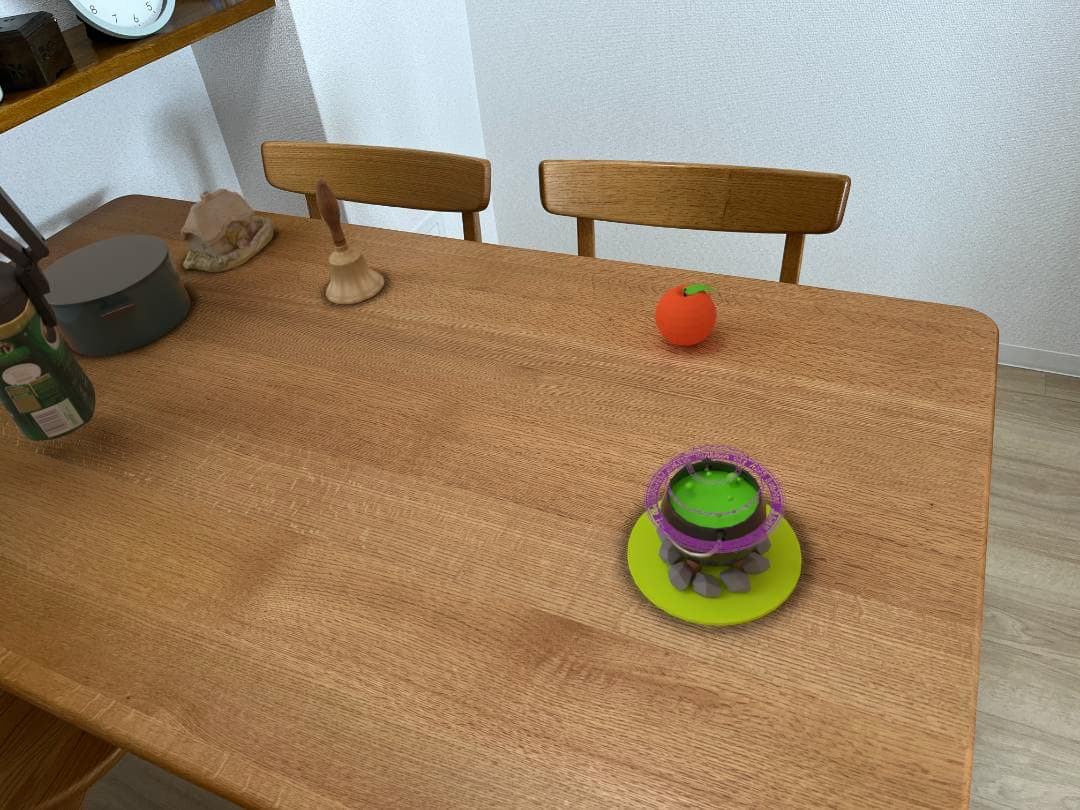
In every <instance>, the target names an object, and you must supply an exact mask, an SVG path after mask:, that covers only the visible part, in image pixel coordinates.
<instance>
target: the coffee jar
mask: <svg viewBox="0 0 1080 810" xmlns="http://www.w3.org/2000/svg"><path fill="white" fill-rule="evenodd" d="M68 347H69V346H67V344H66V343H65V341H64V340H63V338H62V337H61V335H60V333H59V332H58V331H57V329H56V328H55V326H54V327H52V328H50V327H49V326H48V324H47V322H46V321H45V319H44V318H43V316H42V315H41V313H40V311H39V310H38V308H37V307H36V305H35V303H34V302H33V300H32V299H31V297H30V295H29V294H28V292H27V291H26V289H25V287H24V286H23V284H22V283H21V281H20V280H19V278H18V276H17V273H16V265H13V264H11V263H9V262H7V261H3V260H0V402H1V404H2V405H3V407H4V408H5V409H6V411H7V413H8V414H9V415H10V417H11V418H12V420H13V421H14V422H15V424H16V425H17V427H18V429H19V430H20V431H21V433H22V434H23V435H24V437H25V438H26V439H28V440H30V441H34V442H43V441H53V440H56V439H59V438H63V437H66V436H68V435H71V434H73V432H75V431H77V430H79V429H80V428H81V427H83V426H85V425H87V424H88V423H89V422H90V421H91V420H92V419H93V416H94V413H95V409H96V391H95V387H94V384H93V383H92V381H91V380H90V378H89V377H88V375H87V374H86V372H85V371H84V369H83V368H82V366H81V365H80V363H79V362H78V361H77V359H76V357H75V356H74V355H73V353H72V352H71V350H70V349H69V348H68Z"/></svg>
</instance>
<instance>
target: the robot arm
mask: <svg viewBox="0 0 1080 810" xmlns="http://www.w3.org/2000/svg"><path fill="white" fill-rule="evenodd" d="M0 215H1V216H2V218H4V219H5V221H6V222H7V223H8V224H9V225H10V227H12V229H13V230H14V231H15V232H16V234H17V235H18V236H19V237H20V238H21V239H22V241H24V243H25V244H26V245H27V247H26V246H24V245H23V244H21V243H20V242H18V241H17V240H16V239H14V238H13V237H12V236H10V235H9V234H8V233H6V232H5V231H3V230H2V229H0V254H1V255H3V256H4V257H5V258H6V259H9V260H10V261H11V262H13V263H14V266H15V267H16V273H17V276H18V278H19V280H20V281H21V283H22V284H23V286H24V287H25V289H26V291H27V292H28V294H29V295H30V297H31V299H32V300H33V302H34V303H35V305H36V307H37V308H38V310H39V311H40V313H41V315H42V316H43V318H44V319H45V321H46V322H47V324H48V326H49V327H50V328H52V327H54V328H55V327H57V320H56V315H55V313H54V311H53V310H52V308H51V306H50V305H49V303H48V301H47V300H46V298H45V297H44V294H47V293H50V287H49V282H48V280H47V279H46V277H45V275H44V274H43V270H42V269H41V267H40V265H39V262H40V260H42V259H45V258H47V257H48V256H49V255H50V249H49V244H48V243H49V242H48V241H47V238H45V237H44V236H43V234H42V233H41V232H40V231H39V230H38V229H37V227H36V226H35V225H34V224H33V223H32V221H30V219H29V217H27V216H26V215H25V214H24V212H23V211H22V210H21V209H20V207H19V206H18V205H17V204H16V203H15V201H13V199H12V198H11V197H10V196H9V194H8V193H7V192H6V191H5V189H4V188H3V187H2V186H1V185H0Z"/></svg>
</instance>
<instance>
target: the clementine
mask: <svg viewBox="0 0 1080 810" xmlns="http://www.w3.org/2000/svg"><path fill="white" fill-rule="evenodd" d="M707 291H715V292H717V294H718V295H719V297H720V298H721V299H722V296H721V293H720V292H719V291H718V290H716V289H715V288H714V287H712V286H710V285H705V284H693V285H692V284H681V285H677V286H675V287H673V288H671V289H669V290H667V291H666V292H665V293H664V294H663V295H662V296H661V297H660V298H659V301H658V304H657V305H656V307H655V314H654V318H655V324H656V327H657V329H658V331H659V333H660V334H661V336H662V337H663V338H664V339H666V341H668V342H670V343H671V344H674V345H677V346H683V347H685V346H693V345H696V344H700V343H701V342H703V341H704V340H705V339H707V338H708V337H709V335H710V334H711V333H712V332H713V329H714V327H715V326H716V322H717V309H716V304H715V302H714V300H713V298H712V297H711V295H709V294H708V293H707Z"/></svg>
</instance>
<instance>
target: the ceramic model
mask: <svg viewBox="0 0 1080 810" xmlns="http://www.w3.org/2000/svg"><path fill="white" fill-rule="evenodd" d="M199 197H200V200H199V201H197V202H195V203H194V204H193V205H192V206H191V207H190V208H189V209H190V210H189V214H188V215H187V217H186V220H185V222H184V225H183V227H182V228H181V231H180V239H181V240H182V241H187V243H188V244H189V247H190V248H191V249H190V250H189V251H188V252H187V254H186V257H185V260H184V261H183V267H184V269H186V270H199V271H204V272H209V273H220V272H224V271H228V270H232V269H234V268H237V267H239V266H241V265H244V264H245V263H246V262H248V261H249V260H250V259H251V258H253V257H254V256H255V255H256V254H258V253H259V252H260V251H262V249H263V248H264V247H266V246H267V245H268V244H269V243H270V242H271V241H272V239H273V237H274V224H273V223H272V220H271V219H270V218H268V217H263V216H255V215H256V213H255V211H254V209H253V208H252V207H251V206H250V204H249V203H248V201H247V200H246V199H245V198H244V196H242V195H241V194H239V193H238V192H236V191H231V190H228V189H227V188H218V189H217V190H215V191H213V192H212V193H211V192H210V191H209V190H204V191H203V192H202V193H200V194H199Z"/></svg>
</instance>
